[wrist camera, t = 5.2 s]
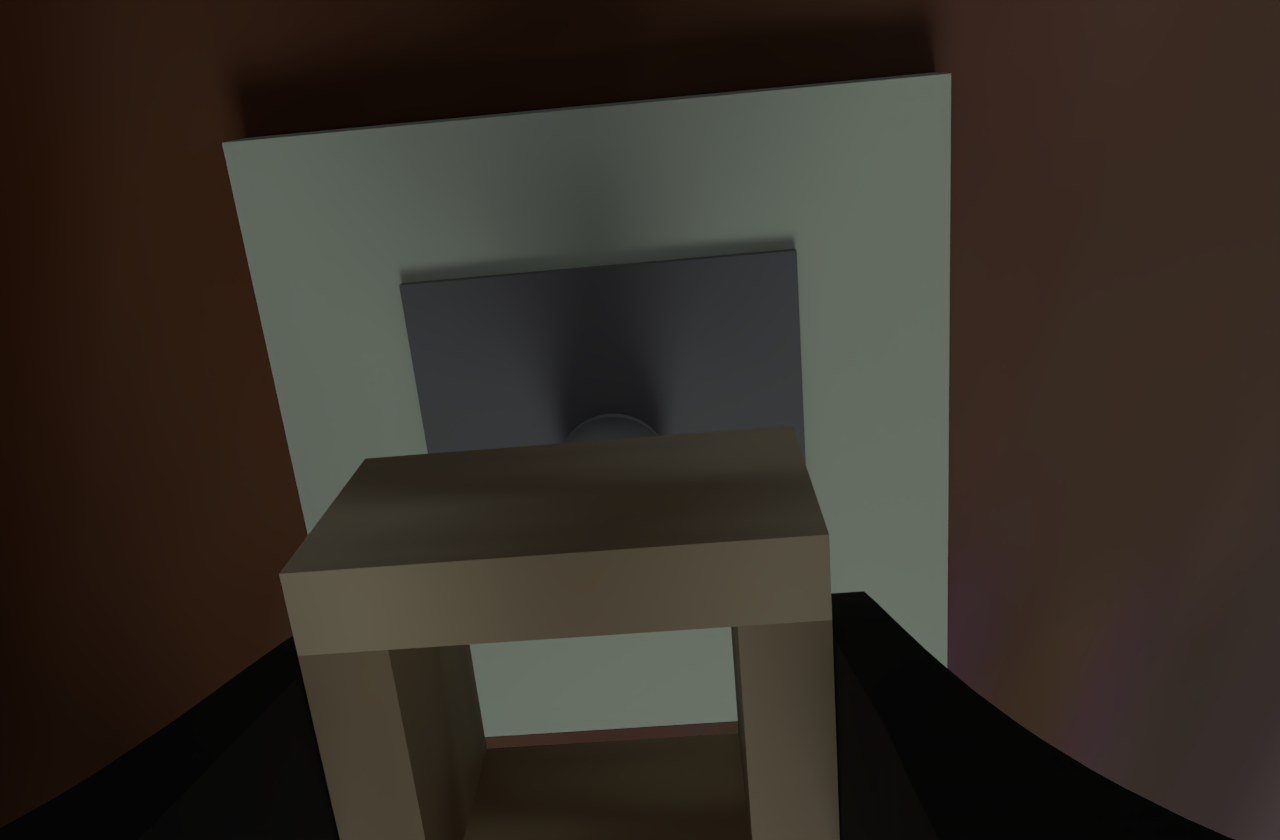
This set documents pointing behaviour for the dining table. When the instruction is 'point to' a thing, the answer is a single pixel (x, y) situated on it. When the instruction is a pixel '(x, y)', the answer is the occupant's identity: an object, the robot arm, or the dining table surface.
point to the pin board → (628, 328)
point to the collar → (569, 636)
